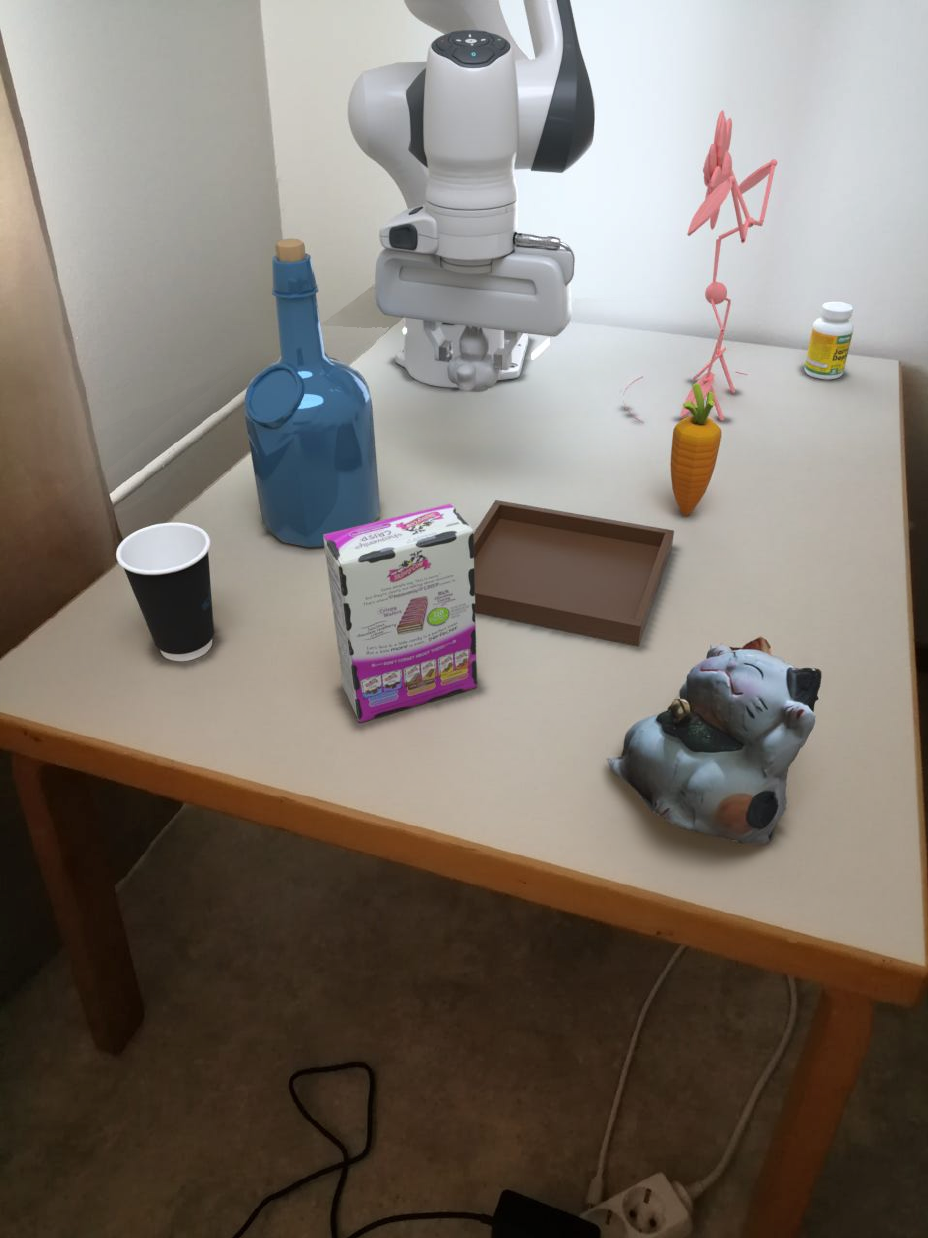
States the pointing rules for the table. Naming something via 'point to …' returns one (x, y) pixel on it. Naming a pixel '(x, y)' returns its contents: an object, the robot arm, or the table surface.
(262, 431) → the wine bottle
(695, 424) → the carrot
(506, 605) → the serving tray
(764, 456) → the table surface
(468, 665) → the candy bar box
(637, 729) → the lucky cat figurine
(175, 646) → the dixie cup
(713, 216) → the figurine
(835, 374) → the supplement bottle
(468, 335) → the rubber duck
